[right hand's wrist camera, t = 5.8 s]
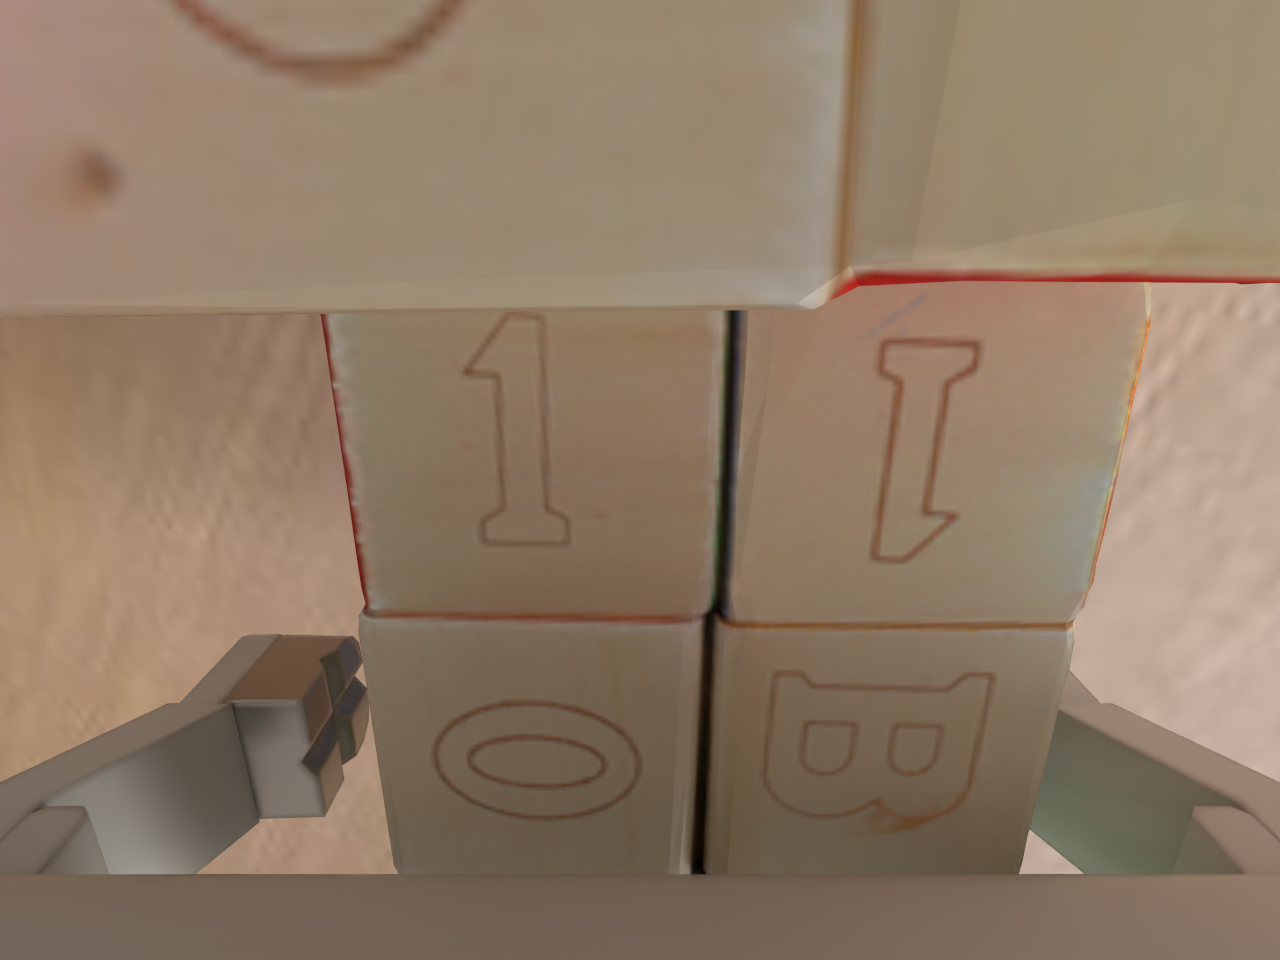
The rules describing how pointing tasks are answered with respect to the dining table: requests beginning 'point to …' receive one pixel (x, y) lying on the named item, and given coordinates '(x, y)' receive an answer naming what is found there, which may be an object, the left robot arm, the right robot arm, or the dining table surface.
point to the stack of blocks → (678, 370)
